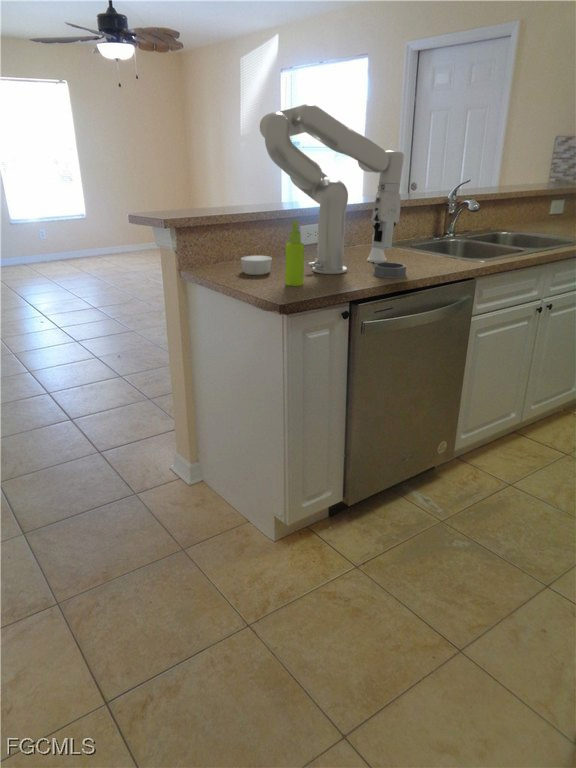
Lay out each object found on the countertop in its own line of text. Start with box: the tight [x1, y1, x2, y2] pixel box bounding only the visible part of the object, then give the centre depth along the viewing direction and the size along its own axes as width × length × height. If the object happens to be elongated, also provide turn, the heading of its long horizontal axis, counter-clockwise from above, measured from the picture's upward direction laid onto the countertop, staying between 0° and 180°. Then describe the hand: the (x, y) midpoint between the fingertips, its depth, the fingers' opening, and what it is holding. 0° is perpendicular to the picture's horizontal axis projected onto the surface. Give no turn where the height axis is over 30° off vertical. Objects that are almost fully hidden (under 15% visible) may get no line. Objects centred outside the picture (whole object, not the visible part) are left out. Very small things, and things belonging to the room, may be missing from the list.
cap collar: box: [372, 261, 407, 279], centre depth 196 cm, size 12×12×3 cm
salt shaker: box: [366, 234, 387, 264], centre depth 217 cm, size 8×8×10 cm
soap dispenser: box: [285, 220, 305, 287], centre depth 179 cm, size 6×7×20 cm
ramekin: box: [240, 255, 273, 276], centre depth 198 cm, size 11×11×5 cm
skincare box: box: [371, 216, 395, 251], centre depth 200 cm, size 6×4×12 cm
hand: (382, 240), depth 201 cm, fingers closed on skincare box, 4 cm apart
